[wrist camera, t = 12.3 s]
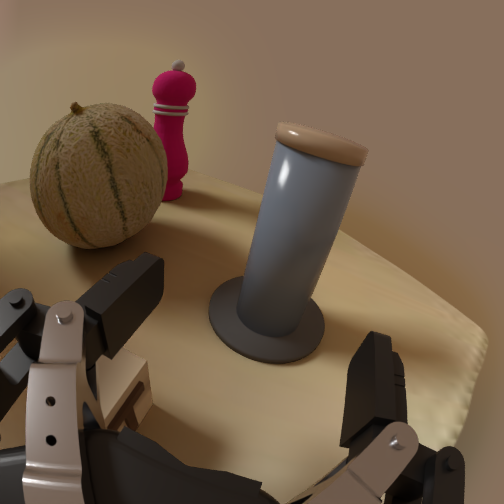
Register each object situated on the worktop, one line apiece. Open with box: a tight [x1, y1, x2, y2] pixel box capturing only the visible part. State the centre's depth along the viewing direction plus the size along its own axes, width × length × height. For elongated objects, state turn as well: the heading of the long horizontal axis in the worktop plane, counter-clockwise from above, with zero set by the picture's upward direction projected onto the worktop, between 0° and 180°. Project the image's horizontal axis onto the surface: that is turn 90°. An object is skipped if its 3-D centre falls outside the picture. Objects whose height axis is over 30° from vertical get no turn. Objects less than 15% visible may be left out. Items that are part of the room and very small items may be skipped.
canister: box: [236, 122, 368, 337], centre depth 20 cm, size 6×6×15 cm
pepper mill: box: [152, 60, 196, 201], centre depth 37 cm, size 7×7×20 cm
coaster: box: [209, 276, 325, 364], centre depth 25 cm, size 10×10×1 cm
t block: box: [27, 347, 153, 432], centre depth 13 cm, size 5×5×5 cm
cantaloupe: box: [30, 102, 168, 249], centre depth 25 cm, size 15×15×15 cm
